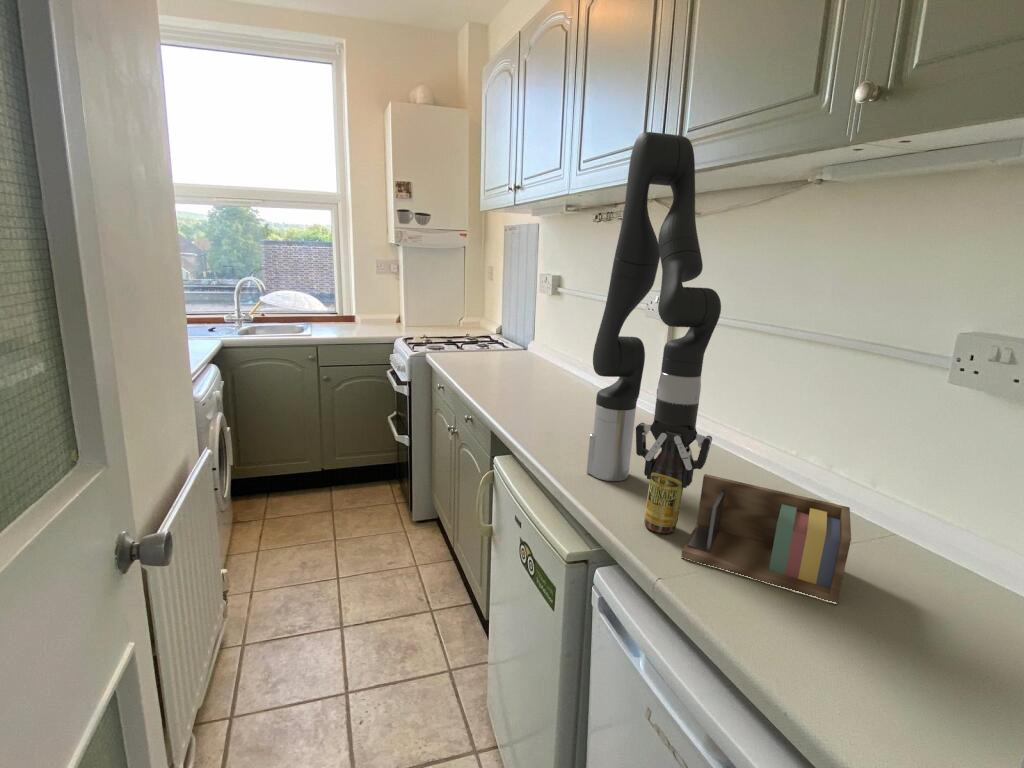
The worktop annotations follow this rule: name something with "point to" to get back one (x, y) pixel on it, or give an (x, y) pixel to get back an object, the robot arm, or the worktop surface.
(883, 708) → the worktop surface
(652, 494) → the sauce bottle
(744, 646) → the worktop surface
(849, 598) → the worktop surface
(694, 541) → the bookend
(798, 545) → the book row
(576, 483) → the worktop surface
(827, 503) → the shelf
